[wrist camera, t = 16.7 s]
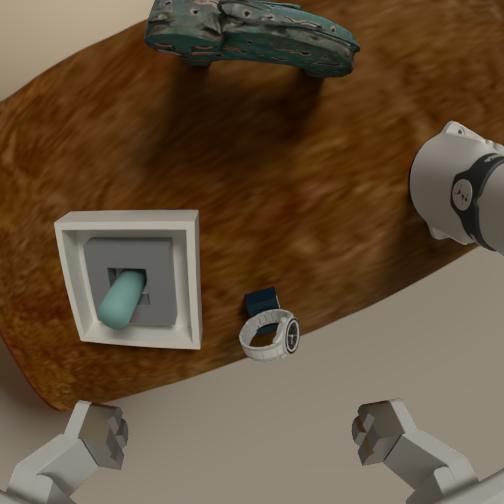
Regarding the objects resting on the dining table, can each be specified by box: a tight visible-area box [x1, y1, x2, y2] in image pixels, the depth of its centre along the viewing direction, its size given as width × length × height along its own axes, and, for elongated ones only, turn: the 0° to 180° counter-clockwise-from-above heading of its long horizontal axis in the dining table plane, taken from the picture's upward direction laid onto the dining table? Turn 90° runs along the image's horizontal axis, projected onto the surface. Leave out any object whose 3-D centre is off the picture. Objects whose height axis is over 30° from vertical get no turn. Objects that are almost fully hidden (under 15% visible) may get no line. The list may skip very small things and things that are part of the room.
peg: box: [98, 268, 147, 330], centre depth 39 cm, size 4×4×10 cm
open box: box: [54, 210, 202, 349], centre depth 42 cm, size 19×19×5 cm
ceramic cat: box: [143, 0, 360, 78], centre depth 25 cm, size 20×6×20 cm, turn 83°
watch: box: [239, 287, 300, 361], centre depth 43 cm, size 6×8×11 cm
